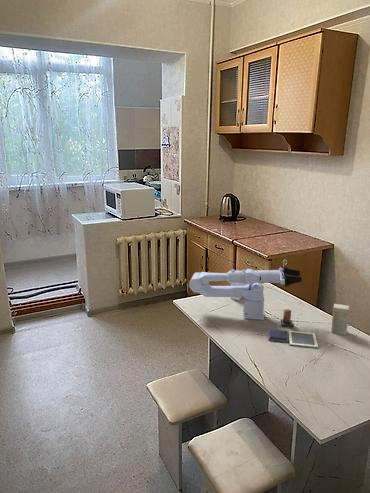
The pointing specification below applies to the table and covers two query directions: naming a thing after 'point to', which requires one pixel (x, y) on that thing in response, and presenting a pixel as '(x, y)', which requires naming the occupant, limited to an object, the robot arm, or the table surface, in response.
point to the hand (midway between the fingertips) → (300, 276)
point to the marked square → (302, 339)
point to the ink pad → (278, 336)
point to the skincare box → (340, 319)
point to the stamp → (286, 319)
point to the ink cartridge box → (237, 285)
